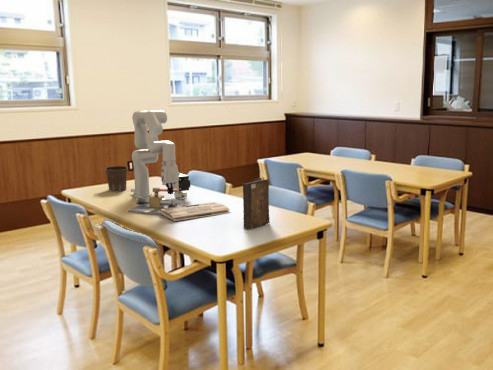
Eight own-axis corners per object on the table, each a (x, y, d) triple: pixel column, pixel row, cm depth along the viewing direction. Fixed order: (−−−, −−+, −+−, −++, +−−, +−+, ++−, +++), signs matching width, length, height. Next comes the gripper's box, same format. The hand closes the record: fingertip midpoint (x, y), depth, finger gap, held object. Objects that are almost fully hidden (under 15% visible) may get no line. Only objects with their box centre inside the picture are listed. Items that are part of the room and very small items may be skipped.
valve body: (136, 206, 297) (135, 191, 295) (141, 204, 302) (140, 189, 300) (173, 209, 289) (172, 194, 287) (178, 207, 294) (177, 192, 292)
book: (248, 230, 251) (248, 183, 246) (239, 227, 256) (238, 181, 251) (270, 224, 262) (271, 178, 257) (261, 221, 267) (261, 177, 262)
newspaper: (214, 205, 302) (214, 200, 302) (230, 212, 287) (231, 208, 286) (159, 212, 282) (159, 208, 281) (174, 221, 266) (174, 216, 266)
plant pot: (125, 192, 343) (124, 169, 340) (103, 192, 343) (101, 169, 340) (131, 187, 359) (130, 166, 356) (109, 187, 359) (108, 166, 356)
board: (126, 212, 288) (126, 210, 288) (148, 203, 311) (148, 200, 311) (166, 216, 280) (165, 213, 279) (185, 206, 303) (185, 203, 302)
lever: (151, 192, 292) (151, 188, 291) (154, 190, 296) (154, 187, 296) (177, 193, 289) (177, 189, 288) (179, 191, 293) (179, 188, 293)
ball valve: (192, 200, 319) (192, 173, 315) (181, 201, 314) (180, 174, 310) (179, 195, 333) (179, 169, 329) (168, 196, 328) (167, 171, 324)
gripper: (162, 165, 277) (164, 196, 281) (183, 162, 288) (184, 192, 292) (155, 164, 282) (156, 194, 286) (175, 161, 293) (176, 190, 297)
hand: (170, 193), depth 289 cm, fingers closed
